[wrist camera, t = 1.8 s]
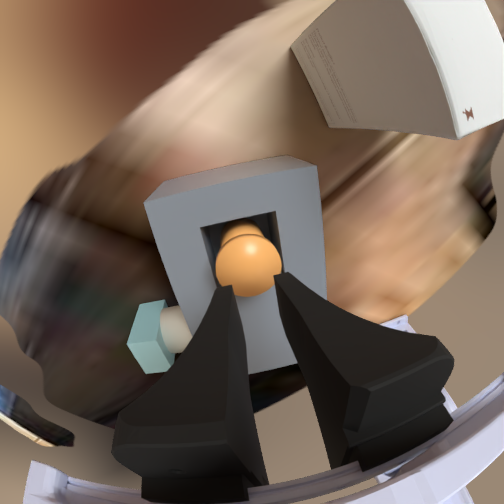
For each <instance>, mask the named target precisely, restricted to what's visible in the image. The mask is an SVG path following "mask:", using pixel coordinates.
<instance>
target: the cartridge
mask: <svg viewBox="0 0 504 504" xmlns="http://www.w3.org/2000/svg"><path fill="white" fill-rule="evenodd" d="M191 339H192V335H191V332H190V330H189V328H188V325H187V323H186V321H185V318H184V316H183V313H182V311H181V308H180V306H179V305H178V306H172V307H168V306H167V303H166V301H165V300H160V301H155V302H150V303H144V304H140V306H139V309H138V311H137V314H136V317H135V320H134V323H133V326H132V329H131V333H130V336H129V339H128V342H127V345H128V347H129V348H130V350H131V352H132V353H133V355H134V356H135V358H136V360H137V361H138V363H139V364H140V366H141V367H142V369H143V370H144V372H145V373H146V374H148V373H158V372H167V370H168V369H169V368H170V367H171V366H172V365H173V364H174V359H175V353H181V352H183V351H184V349H185V348H186V346H187V345H188V343H189V342H190V340H191Z"/></svg>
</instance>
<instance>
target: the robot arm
mask: <svg viewBox="0 0 504 504" xmlns="http://www.w3.org/2000/svg"><path fill="white" fill-rule="evenodd" d="M273 277H274V283H275V289H276V296H277V302H278V308H279V315H280V318H281V322H282V325H283V328H284V332H285V335H286V337H287V340H288V342H289V344H290V346H291V349H292V351H293V353H294V356H295V358H296V360H297V362H298V365H299V367H300V369H301V371H302V374H303V376H304V378H305V381H306V384H307V386H308V389H309V393H310V396H311V399H312V402H313V406H314V409H315V412H316V416H317V419H318V422H319V426H320V429H321V433H322V437H323V440H324V444H325V448H326V451H327V455H328V459H329V463H330V467H331V470H329V471H325V472H322V473H319V474H315V475H311V476H307V477H304V478H299V479H295V480H291V481H287V482H281V483H276V484H271V485H269V481H268V478H267V473H266V469H265V465H264V461H263V456H262V452H261V448H260V443H259V438H258V433H257V429H256V424H255V419H254V414H253V409H252V403H251V398H250V390H249V377H248V363H247V349H246V341H245V335H244V330H243V325H242V321H241V317H240V313H239V310H238V306H237V302H236V298H235V295H234V291H233V287H232V285H227V286H222V287H218V288H216V290H215V291H214V294H213V297H212V299H211V302H210V304H209V306H208V309H207V311H206V313H205V315H204V317H203V319H202V321H201V323H200V325H199V327H198V328H197V330H196V332H195V334H194V335H193V337H192V339H191V340H190V342H189V343H188V345H187V346H186V348H185V349H184V351H183V352H182V353H181V355H180V356H179V358H178V359H177V360H176V361H175V362H174V364H173V365H172V366H171V367H170V368H169V369H168V370H167V372H166V373H165V374H164V375H163V376H162V377H161V378H160V379H159V380H158V381H157V382H156V383H155V384H154V385H153V386H152V387H150V388H149V389H148V390H147V391H146V392H145V393H144V394H142V395H141V396H140V397H139V398H137V399H136V400H135V401H134V402H132V403H131V404H130V405H128V406H127V407H126V408H124V409H123V410H121V411H120V412H119V414H118V418H117V421H116V426H115V432H114V439H113V444H112V451H111V453H112V455H113V456H114V458H115V459H116V460H117V461H118V462H119V463H121V464H122V465H124V466H125V467H127V468H128V469H130V470H131V471H133V472H135V473H136V474H138V475H140V476H141V477H142V487H141V490H139V489H130V488H122V487H115V486H109V485H104V484H99V483H94V482H90V481H85V480H81V479H77V478H73V477H70V476H67V475H66V474H65V473H63V472H62V471H60V470H58V469H57V468H55V467H52V466H50V465H47V464H44V463H41V462H38V461H35V460H32V461H31V465H30V470H29V473H28V478H27V483H26V488H25V493H24V499H23V504H289V503H294V502H298V501H303V500H307V499H311V498H315V497H318V496H322V495H325V494H329V493H332V492H335V491H338V490H341V489H344V488H347V487H350V486H353V485H355V484H358V483H361V482H363V481H366V480H369V479H371V478H373V477H374V478H375V479H376V481H377V483H378V485H376V486H373V487H370V488H368V489H365V490H362V491H360V492H357V493H354V494H351V495H348V496H345V497H342V498H339V499H336V500H332V501H329V502H326V503H322V504H474V503H473V500H472V498H471V496H470V494H469V492H468V490H467V488H466V485H467V484H468V483H469V482H470V481H471V480H473V479H474V478H475V477H476V476H478V475H479V474H480V473H481V472H482V471H483V470H484V469H485V468H486V467H487V466H489V465H490V464H491V463H492V462H493V461H494V460H495V459H496V458H497V457H498V456H499V455H500V454H501V453H502V452H503V451H504V372H503V373H502V374H501V375H500V376H499V377H498V378H497V379H495V380H494V381H493V382H492V383H491V384H489V385H488V386H487V387H486V388H485V389H483V390H482V391H481V392H480V393H478V394H477V395H476V396H475V397H473V398H472V399H470V400H469V401H468V402H466V403H465V404H463V405H462V406H461V407H459V408H457V406H456V405H455V403H454V402H453V400H452V398H451V397H450V396H449V394H448V393H447V391H446V390H445V389H444V385H445V384H446V382H447V380H448V378H449V376H450V374H451V372H452V370H453V367H454V358H453V356H452V355H451V354H450V352H449V351H448V350H447V349H446V347H445V346H444V345H443V344H442V343H441V342H440V341H439V339H437V338H436V337H435V336H429V335H422V334H417V333H416V332H415V331H414V330H413V329H412V327H411V326H410V325H409V324H408V323H407V321H408V316H407V315H403V316H400V317H398V318H395V319H393V320H390V321H387V322H385V323H382V324H376V323H373V322H371V321H368V320H365V319H363V318H360V317H358V316H355V315H353V314H351V313H349V312H347V311H345V310H343V309H341V308H339V307H337V306H335V305H334V304H332V303H330V302H329V301H327V300H326V299H324V298H323V297H321V296H320V295H318V294H317V293H315V292H314V291H312V290H311V289H310V288H308V287H307V286H306V285H304V284H303V283H302V282H301V281H299V280H298V279H297V278H296V277H295V276H293V275H292V274H291V273H289V272H285V273H281V274H276V275H273Z"/></svg>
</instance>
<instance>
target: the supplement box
mask: <svg viewBox="0 0 504 504" xmlns="http://www.w3.org/2000/svg"><path fill="white" fill-rule="evenodd" d="M290 47H291V49H292V50H293V52H294V54H295V56H296V58H297V60H298V62H299V64H300V66H301V68H302V70H303V72H304V74H305V76H306V78H307V80H308V82H309V84H310V86H311V88H312V90H313V92H314V95H315V97H316V99H317V101H318V103H319V105H320V108H321V110H322V112H323V115H324V117H325V119H326V122H327V124H328V127H329V128H350V129H372V130H386V131H397V132H406V133H415V134H423V135H429V136H436V137H442V138H448V139H453V140H459V139H461V138H463V137H465V136H467V135H469V134H471V133H473V132H475V131H477V130H479V129H482V128H484V127H486V126H488V125H490V124H493V123H495V122H497V121H500V120H502V119H504V42H503V40H502V37H501V35H500V32H499V30H498V28H497V25H496V23H495V21H494V19H493V17H492V15H491V13H490V11H489V9H488V6H487V4H486V3H485V1H484V0H336V1H335V2H334V3H332V4H331V5H330V6H329V7H328V8H327V9H326V10H325V11H324V12H323V13H322V14H321V15H320V16H319V17H317V18H316V19H315V20H314V21H313V22H312V23H311V24H310V25H309V26H308V27H307V28H306V29H305V30H304V31H303V32H302V34H301V35H300V36H299V37H298V38H297V39H296V40H295V41H294V42H293V44H292V45H291V46H290Z"/></svg>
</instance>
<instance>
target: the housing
mask: <svg viewBox="0 0 504 504" xmlns="http://www.w3.org/2000/svg"><path fill="white" fill-rule="evenodd" d="M144 206H145V209H146V212H147V216H148V219H149V222H150V225H151V228H152V232H153V235H154V238H155V241H156V244H157V247H158V250H159V252H160V255H161V258H162V261H163V264H164V267H165V269H166V272H167V275H168V277H169V280H170V283H171V285H172V288H173V291H174V293H175V296H176V298H177V301H178V303H179V306H180V308H181V311H182V313H183V316H184V318H185V321H186V323H187V325H188V328H189V330H190V332H191V335H192V337H193V335H194V334H195V332H196V330H197V328H198V327H199V325H200V323H201V321H202V319H203V317H204V315H205V313H206V311H207V309H208V306H209V304H210V302H211V299H212V297H213V294H214V291H215V290H216V288H218V287H222V286H221V284H220V283H219V281H218V279H217V276H216V257H217V254H218V252H219V250H220V248H221V247H220V234H221V231H222V229H223V227H224V226H225V225H226V224H227V223H228V222H229V221H231V220H235V219H239V218H248V219H251V220H253V221H254V222H256V223H257V224H258V226H259V227H260V229H261V231H262V233H263V236H264V237H265V238H266V239H268V240H269V241H270V242H271V243H272V244H273V245H274V246H275V248H276V250H277V252H278V254H279V256H280V258H281V265H282V267H281V273H285V272H289V273H291V274H292V275H293V276H295V277H296V278H297V279H298V280H299V281H301V282H302V283H303V284H304V285H306V286H307V287H308V288H310V289H311V290H312V291H314V292H315V293H317V294H318V295H320V296H321V297H323V298H324V299H326V300H327V291H326V266H325V249H324V234H323V221H322V209H321V199H320V189H319V180H318V171H317V165H314V164H311V163H309V162H306V161H303V160H300V159H298V158H295V157H292V156H289V155H284V156H278V157H272V158H266V159H260V160H255V161H250V162H244V163H239V164H235V165H230V166H225V167H220V168H216V169H211V170H207V171H203V172H199V173H194V174H190V175H186V176H182V177H179V178H175V179H171V180H167V181H164V182H163V183H162V184H161V185H160V186H159V187H158V188H157V189H156V190H155V191H154V192H153V193H152V194H151V195H150V196H149V197H148V199H147V200H146V201H145V202H144ZM281 273H280V274H281ZM235 298H236V302H237V306H238V310H239V313H240V317H241V321H242V325H243V330H244V335H245V341H246V349H247V363H248V374H252V373H257V372H261V371H266V370H270V369H275V368H279V367H283V366H287V365H291V364H295V363H298V362H297V360H296V358H295V356H294V353H293V351H292V349H291V346H290V344H289V342H288V340H287V337H286V335H285V332H284V328H283V325H282V322H281V318H280V315H279V308H278V302H277V296H276V289H275V284H274V285H273V286H272V287H271V288H270V289H269V290H267V291H266V292H264V293H262V294H259V295H256V296H251V297H242V296H237V295H235Z"/></svg>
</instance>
